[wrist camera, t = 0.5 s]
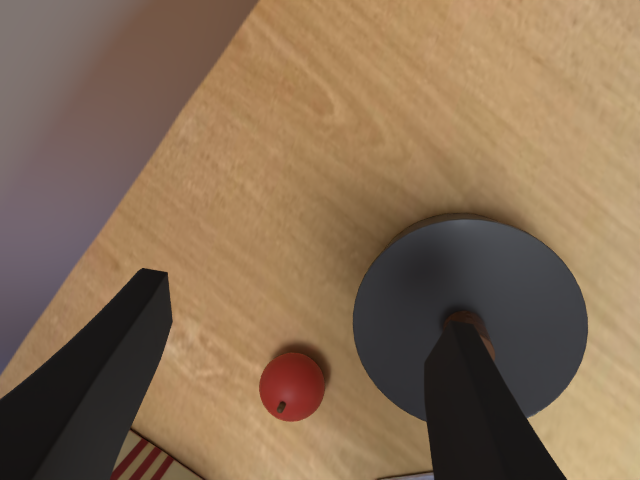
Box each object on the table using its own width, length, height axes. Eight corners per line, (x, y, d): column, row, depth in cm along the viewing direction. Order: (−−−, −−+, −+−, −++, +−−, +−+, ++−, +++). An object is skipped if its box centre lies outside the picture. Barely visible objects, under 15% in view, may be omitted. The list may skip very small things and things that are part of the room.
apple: (338, 392, 37) (323, 438, 32) (282, 403, 39) (258, 449, 33) (319, 336, 37) (300, 371, 31) (263, 349, 38) (235, 386, 32)
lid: (605, 400, 28) (641, 448, 24) (389, 436, 32) (384, 483, 27) (550, 186, 26) (577, 194, 22) (327, 250, 30) (312, 268, 26)
